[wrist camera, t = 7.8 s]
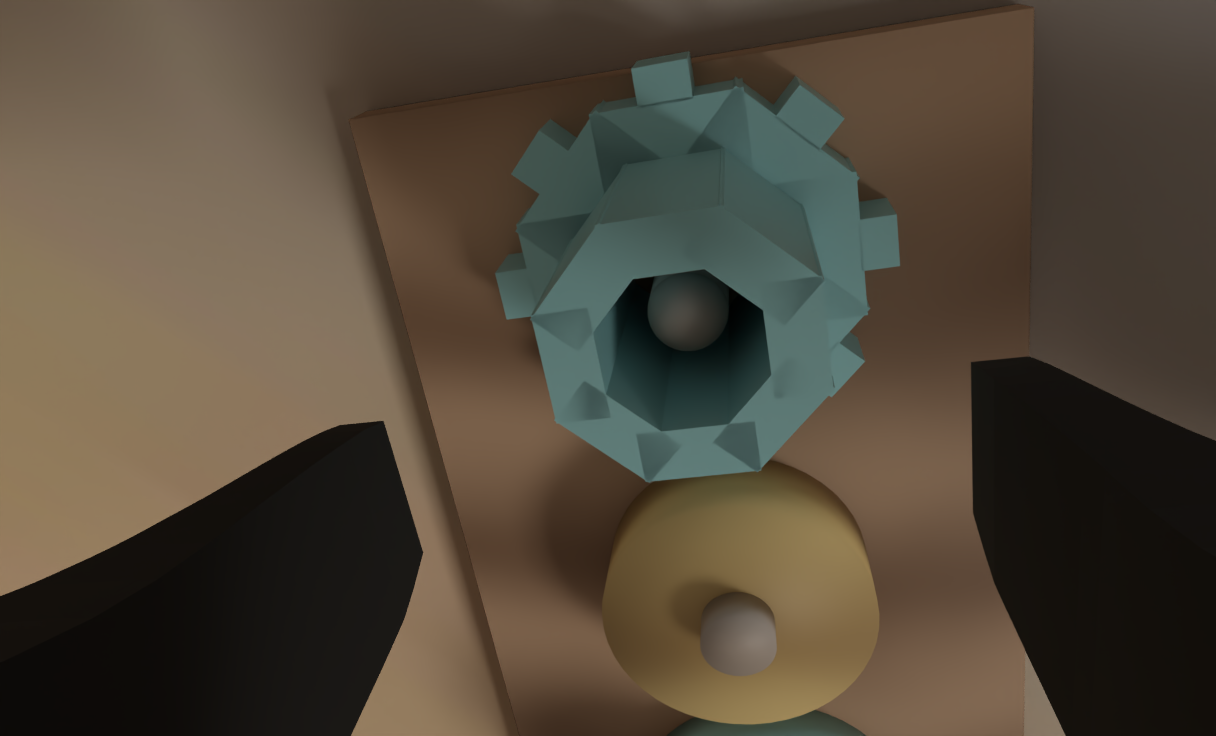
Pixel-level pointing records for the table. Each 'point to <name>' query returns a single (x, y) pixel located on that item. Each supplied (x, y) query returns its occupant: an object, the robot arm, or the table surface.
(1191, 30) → the table surface
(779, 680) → the gear carrier
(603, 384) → the gear
